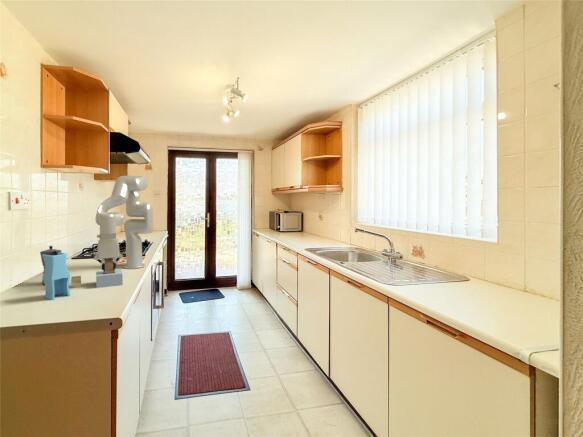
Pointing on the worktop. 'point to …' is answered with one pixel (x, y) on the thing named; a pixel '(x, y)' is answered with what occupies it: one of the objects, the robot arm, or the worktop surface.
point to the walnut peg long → (108, 265)
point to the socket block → (109, 279)
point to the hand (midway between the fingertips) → (109, 270)
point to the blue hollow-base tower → (56, 275)
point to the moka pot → (51, 253)
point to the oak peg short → (76, 281)
